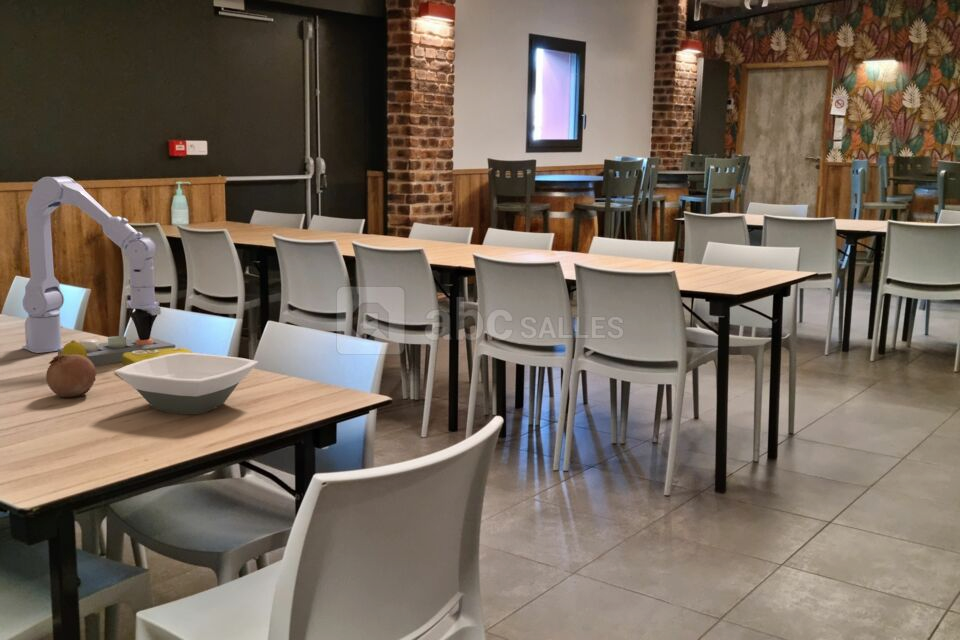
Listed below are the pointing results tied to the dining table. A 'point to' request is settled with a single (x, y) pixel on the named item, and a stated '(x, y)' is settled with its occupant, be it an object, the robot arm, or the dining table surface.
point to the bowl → (186, 380)
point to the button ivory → (90, 345)
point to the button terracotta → (143, 342)
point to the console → (121, 351)
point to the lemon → (74, 349)
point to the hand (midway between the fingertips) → (144, 339)
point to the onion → (70, 375)
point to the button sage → (116, 342)
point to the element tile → (150, 354)
